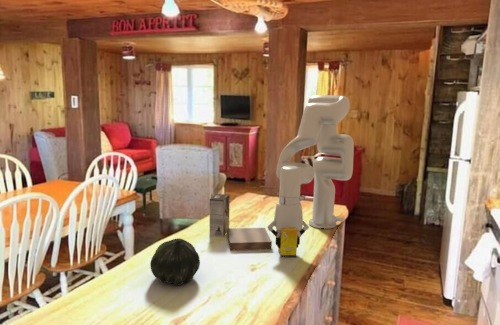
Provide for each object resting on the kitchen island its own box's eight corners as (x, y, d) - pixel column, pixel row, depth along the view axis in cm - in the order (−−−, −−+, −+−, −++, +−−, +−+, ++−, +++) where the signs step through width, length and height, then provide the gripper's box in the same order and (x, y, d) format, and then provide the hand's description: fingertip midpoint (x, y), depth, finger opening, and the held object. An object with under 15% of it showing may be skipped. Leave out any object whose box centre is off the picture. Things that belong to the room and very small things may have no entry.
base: (264, 234, 166) (264, 227, 165) (271, 249, 150) (271, 241, 150) (227, 235, 164) (227, 228, 163) (230, 250, 148) (230, 242, 148)
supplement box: (277, 251, 149) (279, 223, 147) (293, 250, 149) (294, 223, 147) (280, 257, 143) (281, 228, 141) (296, 257, 143) (297, 228, 142)
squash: (160, 250, 133) (153, 228, 121) (204, 253, 133) (200, 232, 121) (151, 291, 124) (142, 272, 113) (197, 294, 124) (193, 276, 112)
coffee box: (215, 228, 171) (215, 193, 169) (229, 230, 170) (230, 194, 167) (209, 236, 163) (209, 198, 160) (223, 237, 161) (224, 200, 159)
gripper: (309, 197, 147) (307, 242, 150) (264, 197, 145) (262, 243, 148) (315, 202, 140) (312, 249, 143) (267, 203, 138) (266, 251, 141)
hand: (287, 246), depth 146 cm, fingers closed on supplement box, 6 cm apart
